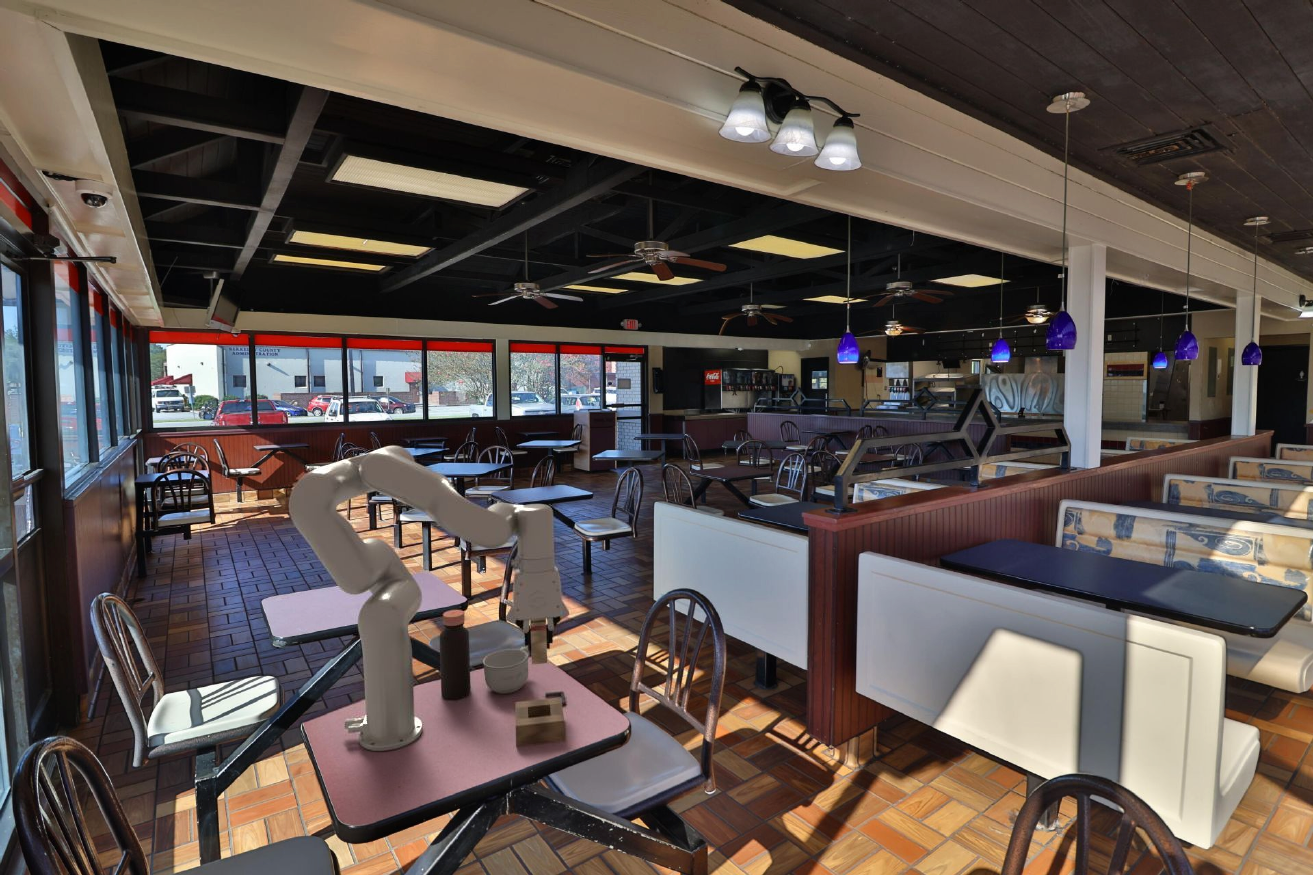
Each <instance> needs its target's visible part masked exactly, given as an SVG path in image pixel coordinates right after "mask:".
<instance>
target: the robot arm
mask: <svg viewBox="0 0 1313 875" xmlns="http://www.w3.org/2000/svg"><path fill="white" fill-rule="evenodd" d="M373 492H377V493H380V494H382V495H384V496H386V497H389V498H391V499H393V500H396V501H398V502H399V503H402V504H405V505H407V506H410V507H412V508H413V509H415V510H418V511H420V512H422V513H423V514H426V515H427V516H428V517H429V518H430V519H431V520H432V521H433V522H435V523H436V524H437V525H438V526H439V527H441V528H442V529H444V530H445V531H447V532H449V533H450V534H452V535H453V536H456V537H458V538H460V539H462V540H464V541H467V542H469V543H471V544H473V545H475V546H478V547H481V548H485V549H492V550H493V549H499V548H501V547H503V546H505V545H506V544H507V543H508V541H509V540H510V539H511V538H513V537H517V538H516V539H517V540H516V541H517V557H516V558H514V559H510V564H511V565H510V566H511V567H516V568H517V569H516V570H515V571H514V576H513V585H512V586H513V587H512V605H511V606H510V609H509V611H508V612H507V614H506V616H505V620H506V621H507V622H509V623H511V624H514V625H516V626H517V627H518V628H519V629H521V630H522V632H523V633H524V647H527V648H528V651H529V652H531V628H530V620H535V619H546V638H547V650H550V649H551V644H553V643H554V638H553V637H554V634H553V630H555V627H556V626H557V625H558V624H559V623H560V622H561V620H563V619H565V618H567V617H568V616H570V611H569V608H568V607H567V606H566V604H565V603H564V601H563V594H562V582H561V575H560V571H559V569H558V567H557V566H556V565H555V545H554V544H555V542H554V540H555V539H554V538H555V536H554V535H555V534H554V510H553V509H552V507H551V506H549V505H547V504H543V503H530V504H525V505H524V504H515V503H507V502H496V503H493V504H492V505H490V506H488V507H487V508H485V507H483V506H480V505H479V504H477V503H474V502H472V501H471V500H468V499H467V498H465V497H464V496H462V495H461V494H460V493H459V492H457V490H456V489H455V488H454V486H453V485H452V483H451V481H450V480H449V478H448V477H447V476H446V475H444V474H442V473H440V472H437V471H435V470H433V469H430V468H428V467H426V466H425V465H422V464H420V463H417V462H416V460H415V457H414V456H413V455H412V453H411V452H410V451H408V449H406V448H404V447H403V446H400V445H387V446H384V447H381V448H378V449H376V450H373V451H370V452H367V453H364V454H360V455H357V456H353V457H349V458H346V459H343V460H339V461H335V462H332V463H330V464H327V465H323V466H322V465H321V466H320V467H317V468H314V469H313V470H310V471H308V472H306V473H305V474H304V475H302V476H301V478H299V479H298V481H297V482H296V483H295V485H294V486H293V488H292V490H291V492H290V495H289V500H288V512H289V516H290V518H291V521H292V523H293V525H294V526H295V527H296V529H297V531H298V532H299V533H300V534H301V536H302V537H303V538H304V539H305V541H306V542H307V543H308V545H309V546H310V547H311V549H312V550H313V552H314V553H315V555H316V557H317V558H318V559H319V561H320V563H321V564H322V565H323V567H324V568H325V570H326V572H328V574H329V575H330V576H331V578H332V580H333V581H334V582H335V583H336V585H337V587H338V588H339V589H341V590H342V591H343V592H344V593H346V594H349V595H355V596H357V595H361V594H364V593H366V592H367V591H370V593H371V595H370V596H369V597H368V599H367V600H365V602H364V603H363V604H362V606H361V608H360V610H359V612H358V617H357V628H358V635H359V638H360V641H361V649H362V661H363V678H364V696H365V697H364V698H365V700H364V701H365V715H361V717H359V718H346V719H345V720H344V729H345V730H346V729H347V731H348V734H355V733H359V734H358V743H359V744H360V746H361V747H362V748H364V749H365V750H369V751H374V752H383V751H384V752H385V751H392V750H396V749H400V748H402V747H405V746H407V745H409V744H411V743H412V742H414V741H416V740H417V739H418V738H419V737H420V735H421V734H422V733H423V728H424V727H423V726H424V724H423V722H422V720H421V719H420V718H418V717H417V716H415V698H414V697H415V696H414V694H415V693H414V673H413V672H414V671H413V670H414V667H413V666H414V665H413V649H412V642H411V638H410V634H409V623H410V622H411V620H412V619H413V618H414V617H415V615H416V614H417V613H418V611H419V609H420V608H421V605H422V602H423V593H422V590H421V587H420V586H419V584H418V582H417V581H416V579H415V578H414V576H413V575H412V573H411V572H410V570H409V569H408V567H407V566H406V564H405V563H404V562H403V561H402V559H401V558H400V556H399V554H398V553H397V552H396V550H395V549H394V548H393V547H392V546H391V545H390V544H389V543H388V542H386V541H384V540H382V539H380V538H375V537H370V538H368V537H367V538H365V539H362V538H361V537H360V535H359V534H358V533H357V531H356V530H355V527H353V525H352V524H351V523H350V521H349V520H347V519H346V518H345V517H344V516H342V514H340V513H339V511H338V510H337V508H338V506H339V505H340V504H344V503H346V502H348V501H349V500H351V499H354V498H357V497H359V496H362V495H366V494H369V493H373Z"/></svg>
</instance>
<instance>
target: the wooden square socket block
mask: <svg viewBox="0 0 1313 875" xmlns="http://www.w3.org/2000/svg"><path fill="white" fill-rule="evenodd" d="M514 705H515V747H523V746H524V747H525V746H531V745H532V746H533V745H542V744H550V743H560V742H565V740H566V738H565V736H566V735H565V727H566V726H565V716H564V715H565V714H564V710H563V706H562V698H561V697H552V698H545V699H543V698H541V699H533V700H525V701H515V704H514Z"/></svg>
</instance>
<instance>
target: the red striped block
mask: <svg viewBox="0 0 1313 875" xmlns="http://www.w3.org/2000/svg"><path fill="white" fill-rule="evenodd" d="M546 624H547V618H546V619H535V620H530V622H529V626H530V628H531V651H530V652H531V653H530V654H531V656H530V657H531V658H530V659H531V665H543V664H548V649H547V638H546Z"/></svg>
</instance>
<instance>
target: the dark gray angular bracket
mask: <svg viewBox="0 0 1313 875" xmlns="http://www.w3.org/2000/svg"><path fill="white" fill-rule="evenodd" d="M550 697H552V698H554V697H560V698H561V701H562V707H564V706H566V698H565V691H553V692H545V698H550Z"/></svg>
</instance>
